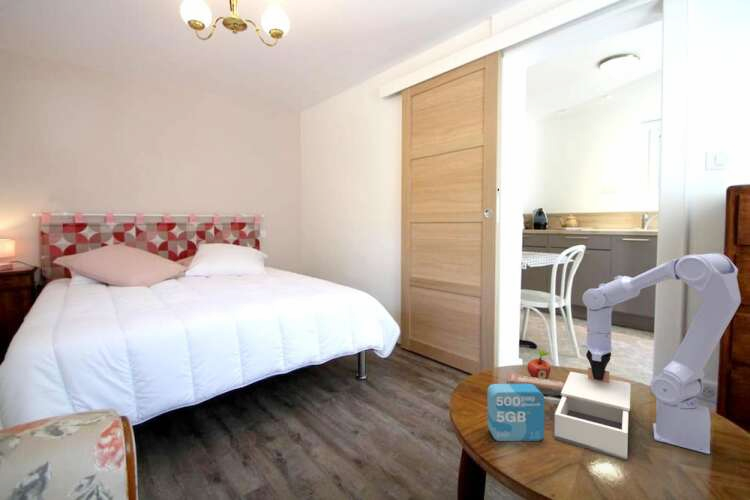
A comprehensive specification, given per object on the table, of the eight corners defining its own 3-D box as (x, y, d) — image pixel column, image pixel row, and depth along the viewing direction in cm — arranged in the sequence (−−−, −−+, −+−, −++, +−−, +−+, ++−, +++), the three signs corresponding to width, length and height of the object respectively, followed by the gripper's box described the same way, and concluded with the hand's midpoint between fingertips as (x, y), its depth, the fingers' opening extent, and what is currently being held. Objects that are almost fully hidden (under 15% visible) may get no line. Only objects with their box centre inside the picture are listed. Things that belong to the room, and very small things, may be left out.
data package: (492, 441, 83) (492, 392, 82) (487, 430, 87) (487, 383, 86) (544, 441, 82) (544, 391, 81) (536, 430, 87) (536, 383, 86)
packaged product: (505, 381, 104) (507, 369, 113) (505, 397, 105) (507, 384, 114) (574, 391, 97) (570, 377, 106) (574, 408, 97) (570, 393, 106)
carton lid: (630, 385, 96) (630, 373, 96) (629, 411, 83) (630, 397, 82) (570, 373, 105) (570, 362, 104) (560, 395, 91) (560, 382, 91)
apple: (549, 387, 109) (549, 356, 109) (525, 383, 113) (525, 352, 112) (551, 378, 116) (551, 349, 115) (529, 374, 120) (529, 346, 119)
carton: (628, 426, 87) (628, 402, 87) (627, 460, 75) (627, 433, 74) (565, 410, 96) (565, 388, 95) (554, 438, 83) (554, 414, 83)
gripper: (585, 323, 106) (585, 366, 107) (579, 335, 94) (578, 384, 95) (613, 326, 102) (612, 371, 102) (610, 339, 90) (610, 390, 91)
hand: (598, 378), depth 98 cm, fingers closed on carton lid
